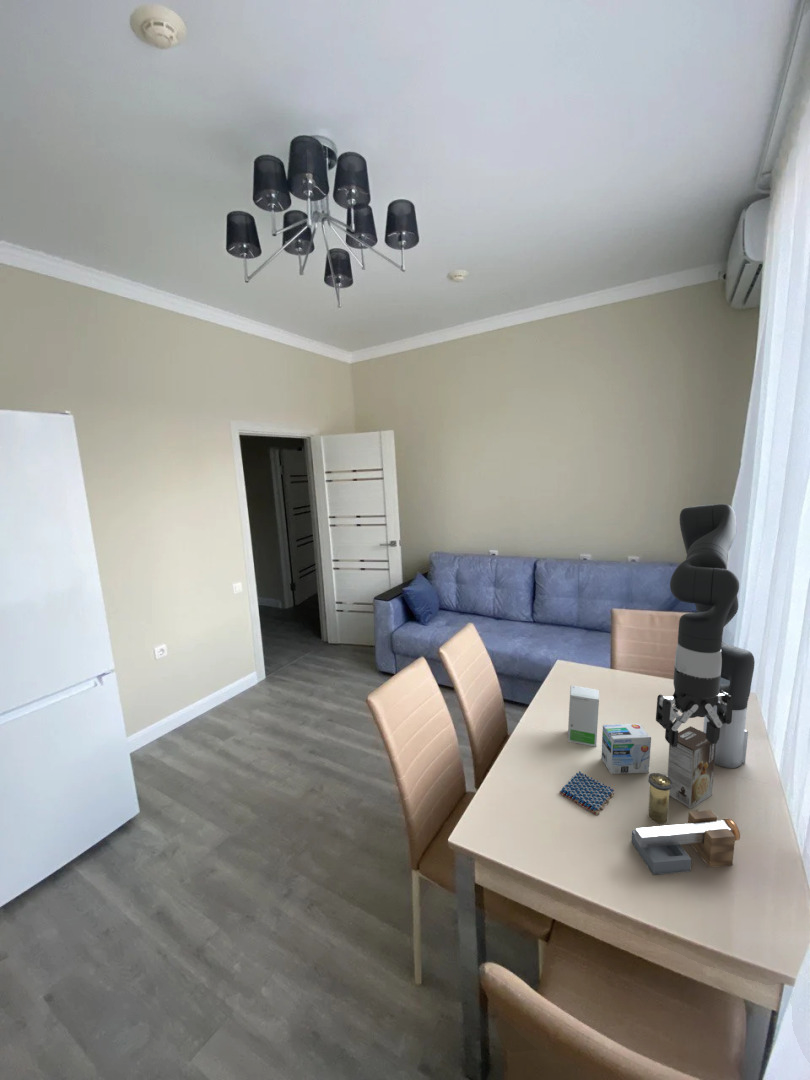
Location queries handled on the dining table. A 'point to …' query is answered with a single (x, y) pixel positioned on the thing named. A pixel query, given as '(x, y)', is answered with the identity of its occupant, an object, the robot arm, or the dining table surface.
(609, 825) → the dining table surface
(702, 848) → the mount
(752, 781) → the dining table surface
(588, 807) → the woven mat
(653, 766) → the dining table surface
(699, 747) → the coffee box
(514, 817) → the dining table surface
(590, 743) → the skincare box
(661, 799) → the yellow glass jar
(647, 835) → the pin
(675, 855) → the box
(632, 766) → the light bulb box
